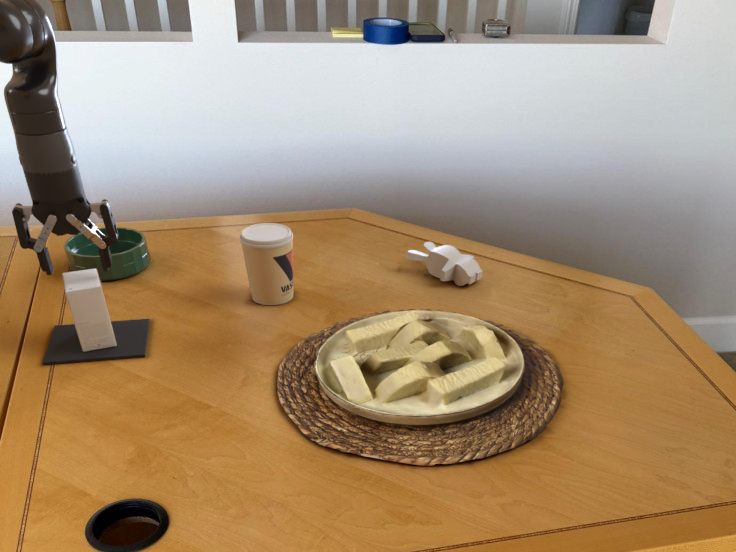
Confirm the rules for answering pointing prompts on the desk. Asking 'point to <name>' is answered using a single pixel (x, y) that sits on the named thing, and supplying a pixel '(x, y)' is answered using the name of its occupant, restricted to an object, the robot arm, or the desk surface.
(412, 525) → the desk surface
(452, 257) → the bunny figurine
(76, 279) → the small box
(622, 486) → the desk surface
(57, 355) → the mat
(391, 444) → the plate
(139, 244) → the bowl
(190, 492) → the desk surface
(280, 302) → the coffee cup
